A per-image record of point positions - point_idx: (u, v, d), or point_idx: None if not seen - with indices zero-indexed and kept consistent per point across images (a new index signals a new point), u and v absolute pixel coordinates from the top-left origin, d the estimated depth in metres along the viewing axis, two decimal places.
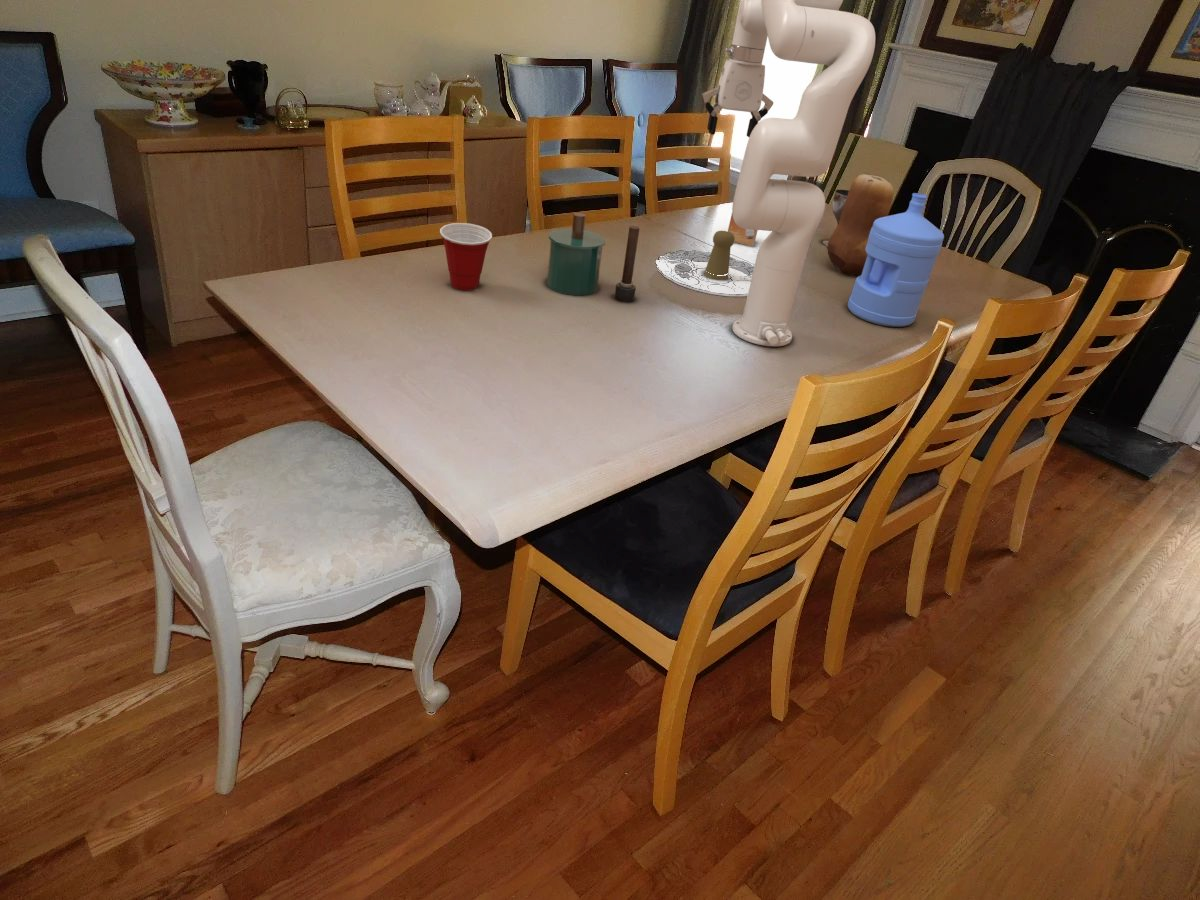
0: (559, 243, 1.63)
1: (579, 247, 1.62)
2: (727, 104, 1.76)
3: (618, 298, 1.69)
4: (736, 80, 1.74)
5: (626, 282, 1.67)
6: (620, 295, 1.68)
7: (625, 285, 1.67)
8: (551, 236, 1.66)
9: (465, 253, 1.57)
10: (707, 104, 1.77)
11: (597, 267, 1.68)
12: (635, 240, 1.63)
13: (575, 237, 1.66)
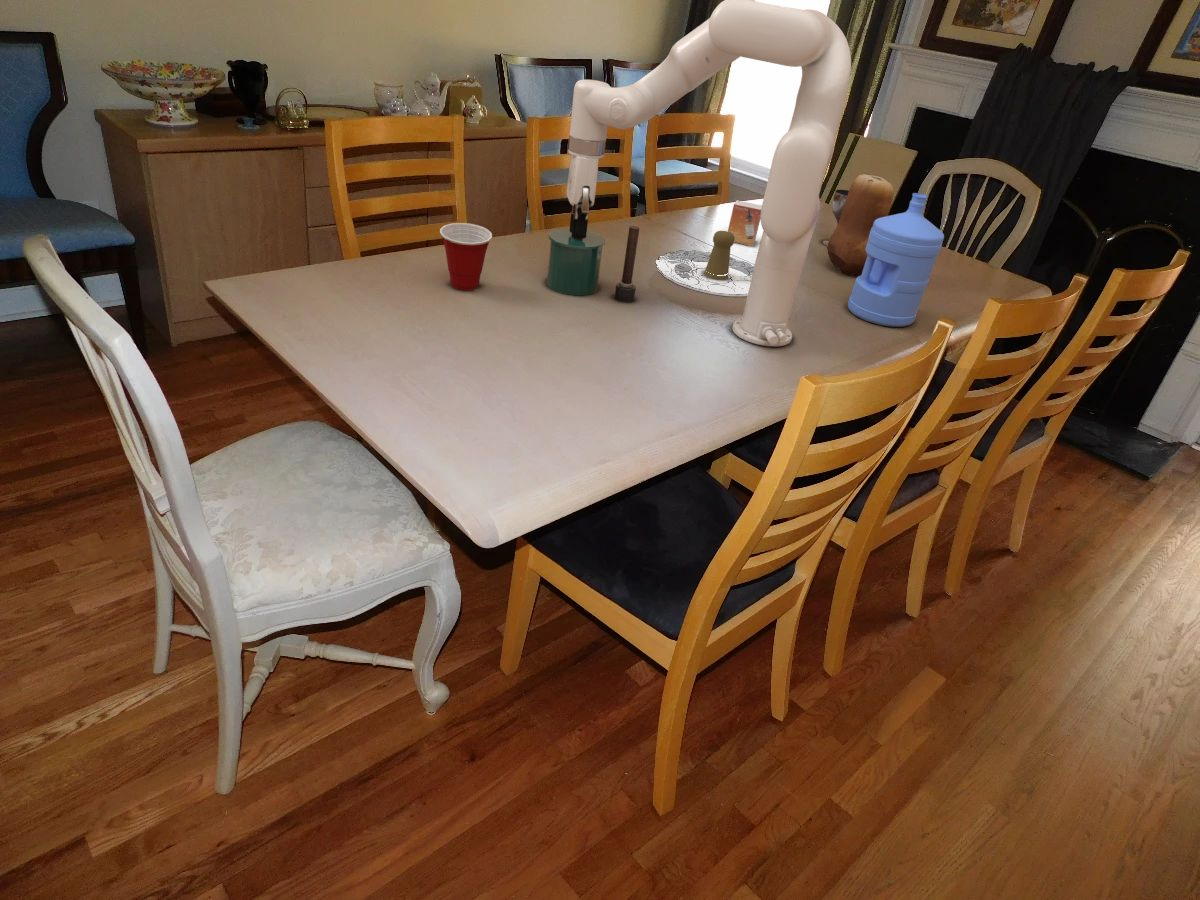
0: (559, 243, 1.63)
1: (579, 247, 1.62)
2: (567, 191, 1.65)
3: (618, 298, 1.69)
4: None
5: (626, 282, 1.67)
6: (620, 295, 1.68)
7: (625, 285, 1.67)
8: (551, 236, 1.66)
9: (465, 253, 1.57)
10: None
11: (597, 267, 1.68)
12: (635, 240, 1.63)
13: None
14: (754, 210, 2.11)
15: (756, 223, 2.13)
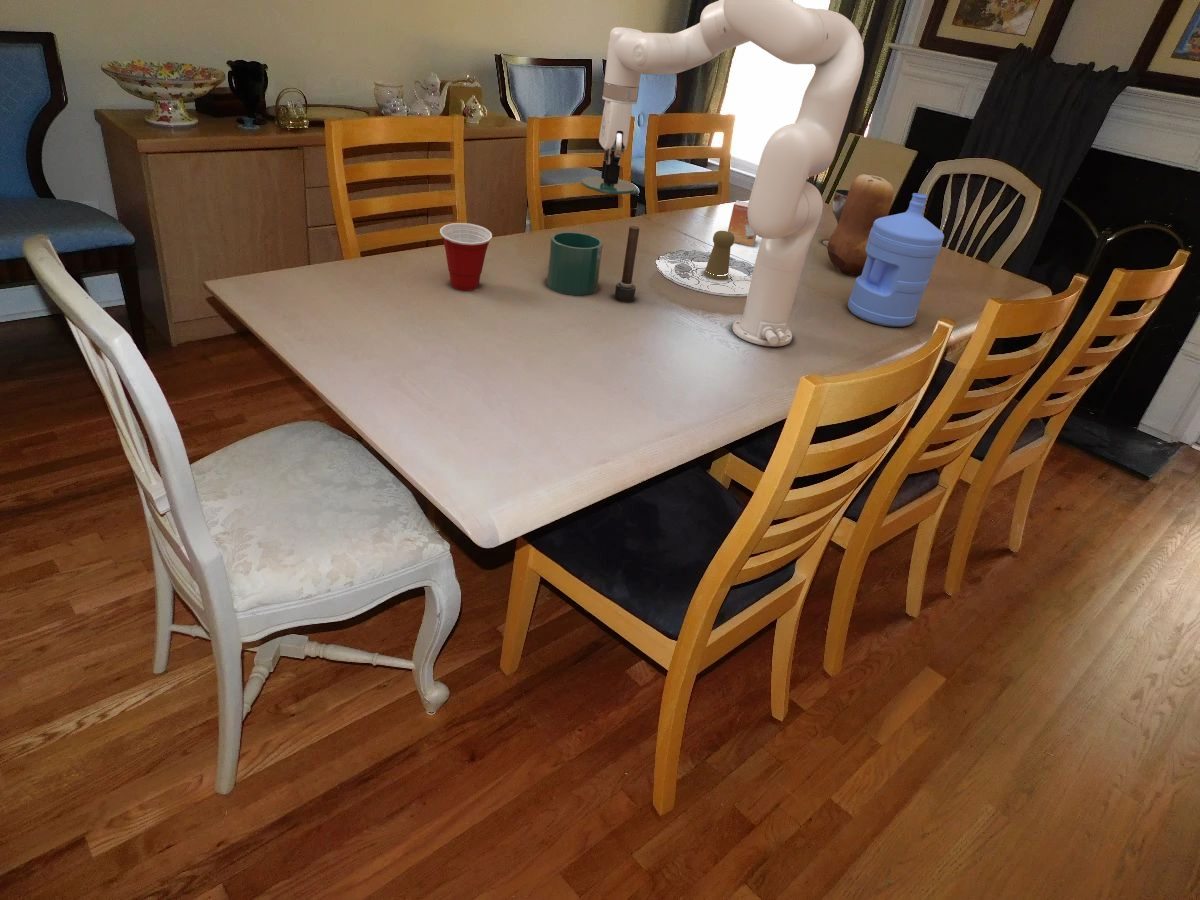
0: (592, 188, 1.70)
1: (611, 191, 1.69)
2: (599, 138, 1.71)
3: (618, 298, 1.69)
4: (603, 114, 1.68)
5: (626, 282, 1.67)
6: (620, 295, 1.68)
7: (625, 285, 1.67)
8: (584, 182, 1.72)
9: (465, 253, 1.57)
10: None
11: (597, 267, 1.68)
12: (635, 240, 1.63)
13: (607, 183, 1.73)
14: None
15: None
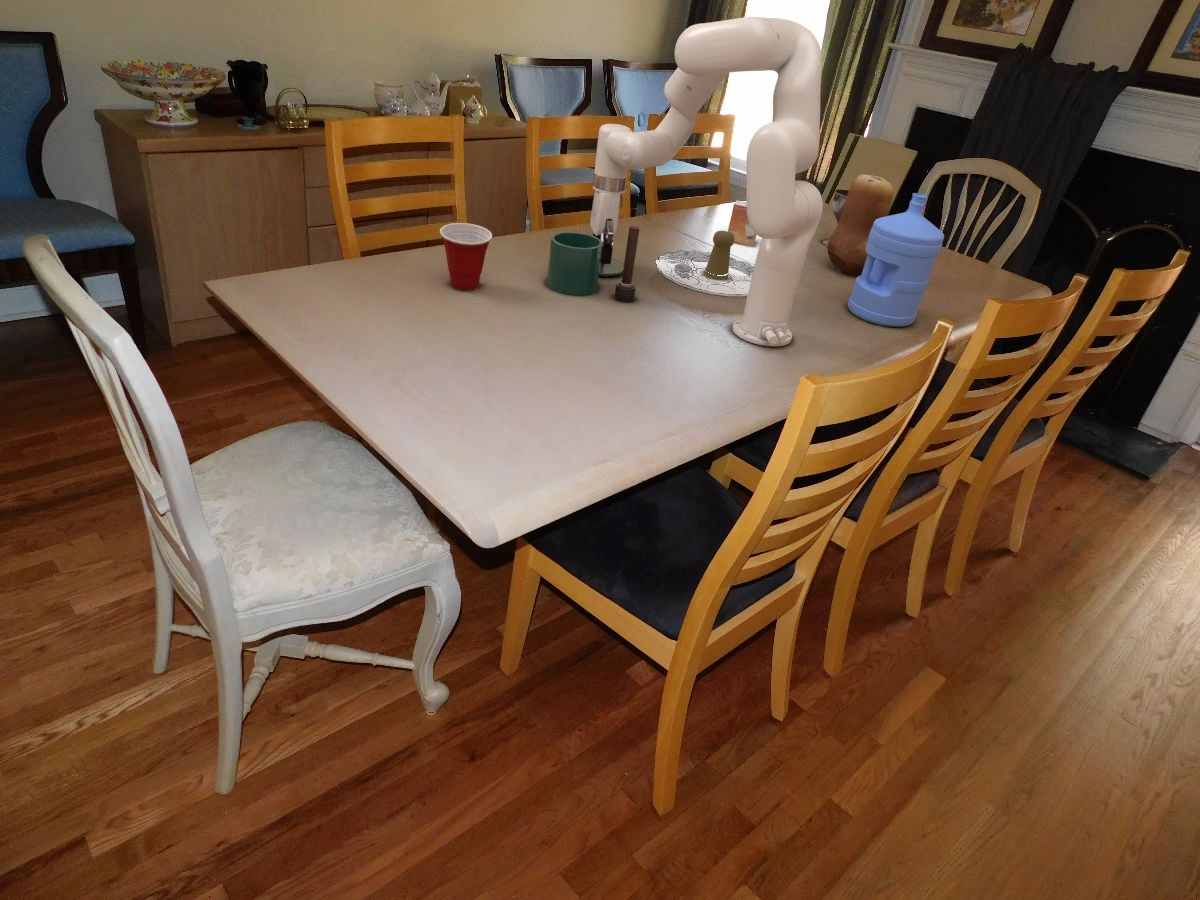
0: None
1: (601, 274, 1.79)
2: (590, 222, 1.81)
3: (618, 298, 1.69)
4: (593, 201, 1.78)
5: (626, 282, 1.67)
6: (620, 295, 1.68)
7: (625, 285, 1.67)
8: None
9: (465, 253, 1.57)
10: None
11: (597, 267, 1.68)
12: (635, 240, 1.63)
13: None
14: None
15: None
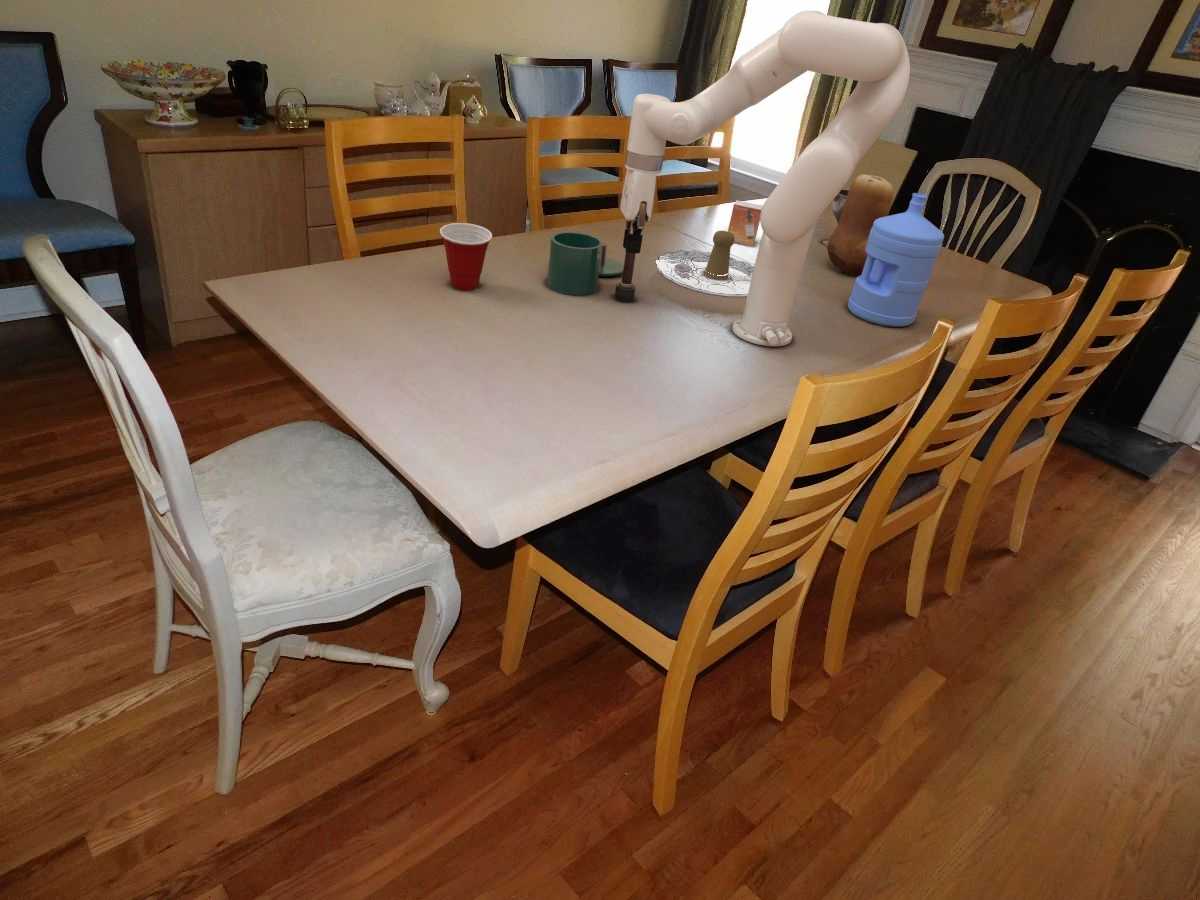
0: None
1: (601, 274, 1.79)
2: (621, 206, 1.62)
3: (618, 298, 1.69)
4: (625, 182, 1.59)
5: (626, 282, 1.67)
6: (620, 295, 1.68)
7: (625, 285, 1.67)
8: None
9: (465, 253, 1.57)
10: None
11: (597, 267, 1.68)
12: None
13: None
14: (754, 210, 2.11)
15: (756, 223, 2.13)
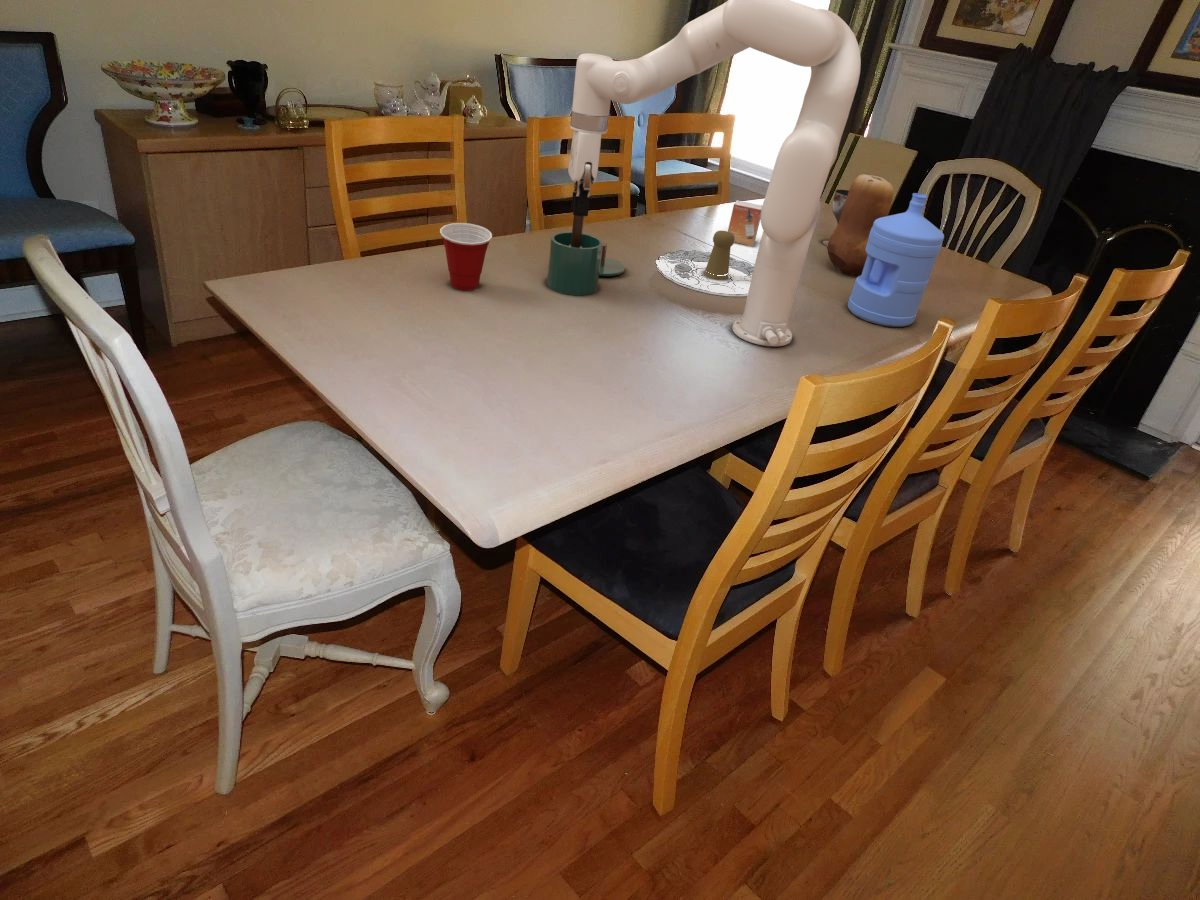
0: None
1: (601, 274, 1.79)
2: (568, 168, 1.62)
3: None
4: None
5: (575, 246, 1.67)
6: None
7: None
8: None
9: (465, 253, 1.57)
10: None
11: (597, 267, 1.68)
12: None
13: None
14: (754, 210, 2.11)
15: (756, 223, 2.13)
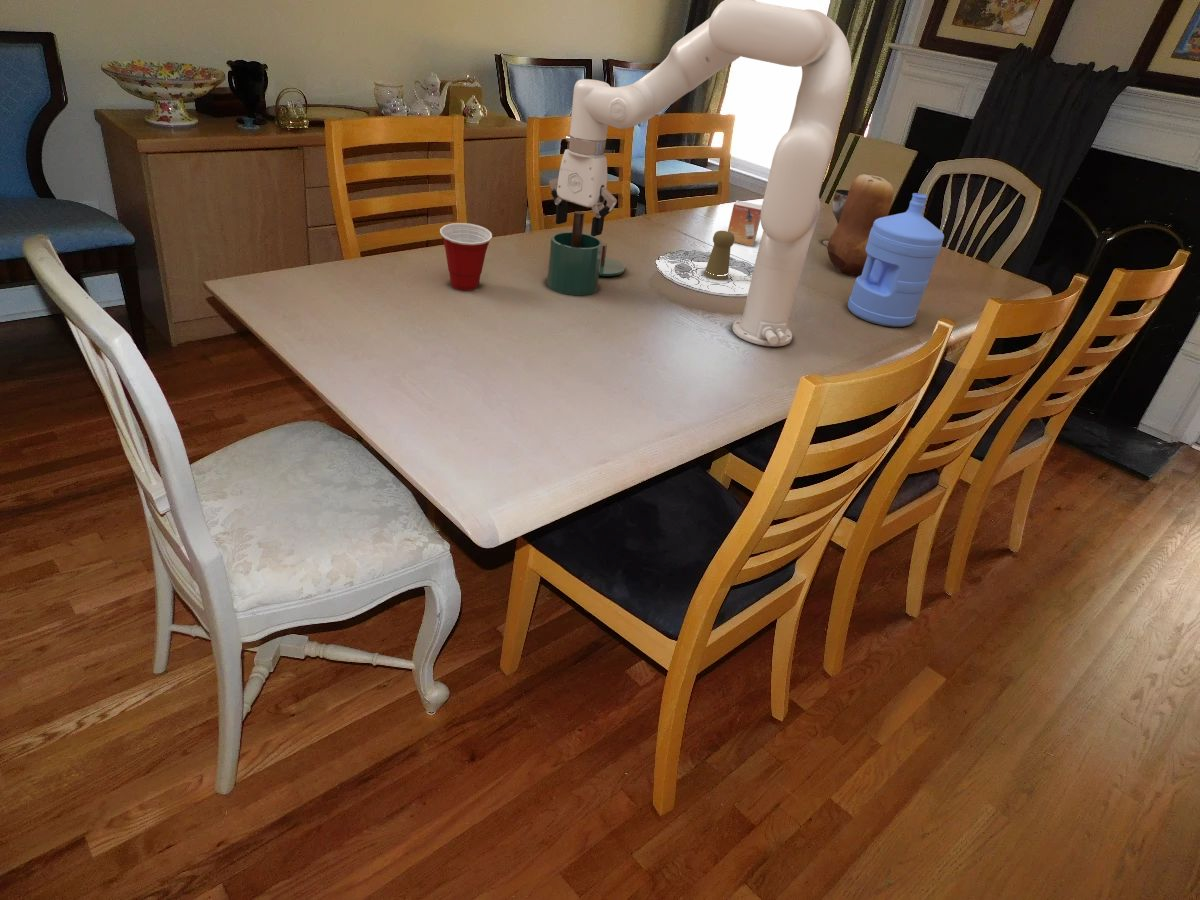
0: None
1: (601, 274, 1.79)
2: (562, 194, 1.62)
3: None
4: (568, 170, 1.59)
5: None
6: None
7: None
8: None
9: (465, 253, 1.57)
10: (552, 191, 1.66)
11: (597, 267, 1.68)
12: (582, 225, 1.66)
13: None
14: (754, 210, 2.11)
15: (756, 223, 2.13)
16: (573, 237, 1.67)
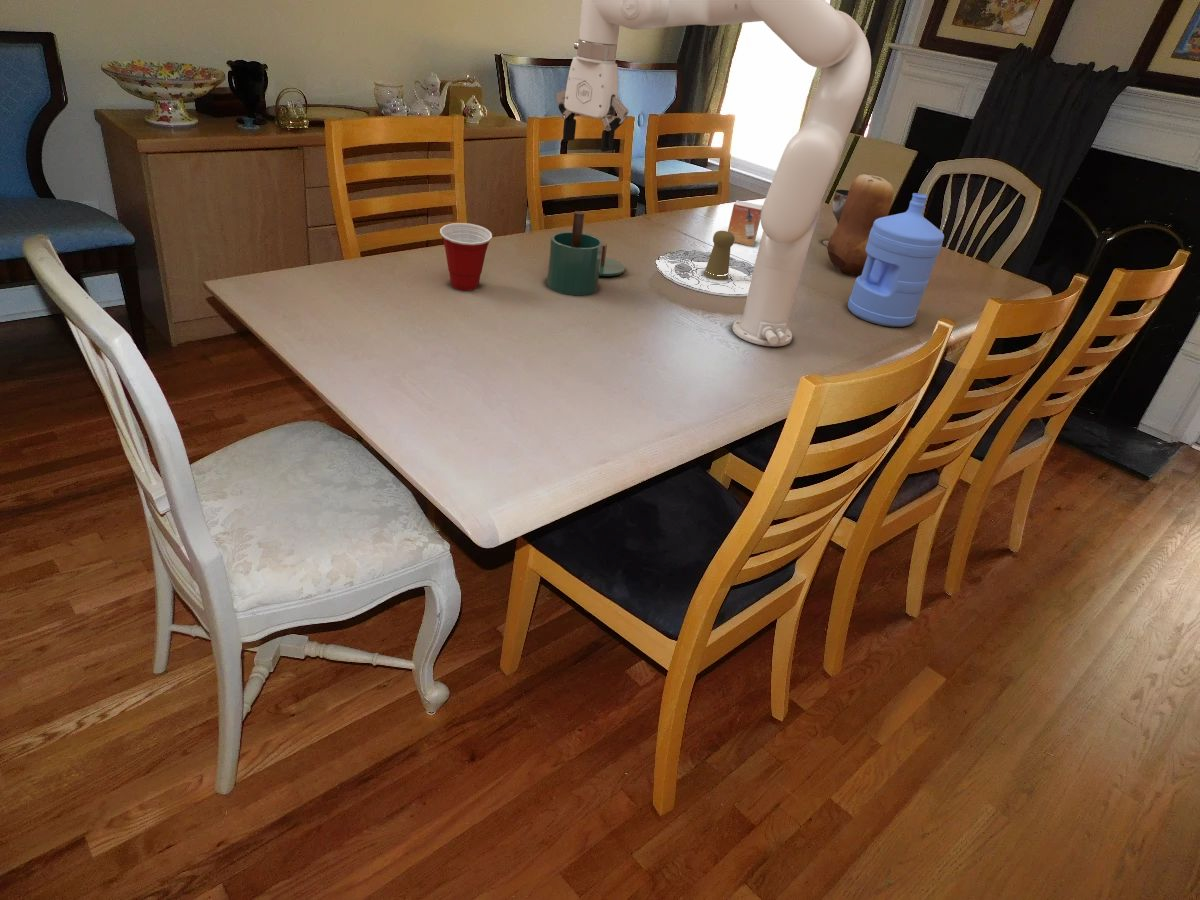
0: None
1: (601, 274, 1.79)
2: (570, 106, 1.53)
3: None
4: (576, 78, 1.50)
5: None
6: None
7: None
8: None
9: (465, 253, 1.57)
10: (559, 105, 1.57)
11: (597, 267, 1.68)
12: (582, 225, 1.66)
13: None
14: (754, 210, 2.11)
15: (756, 223, 2.13)
16: (573, 237, 1.67)
